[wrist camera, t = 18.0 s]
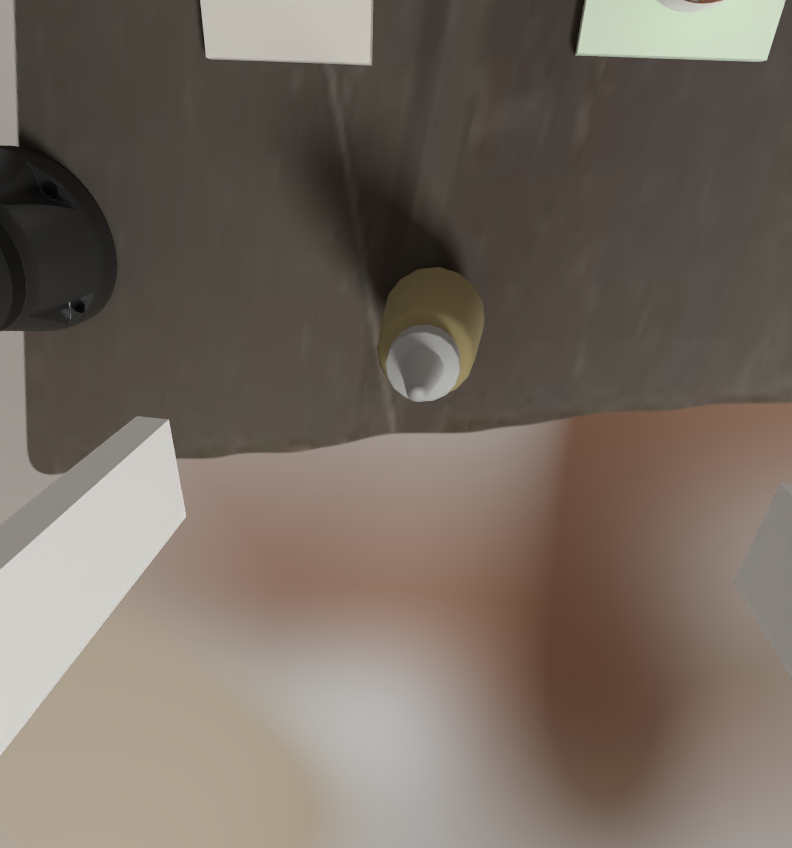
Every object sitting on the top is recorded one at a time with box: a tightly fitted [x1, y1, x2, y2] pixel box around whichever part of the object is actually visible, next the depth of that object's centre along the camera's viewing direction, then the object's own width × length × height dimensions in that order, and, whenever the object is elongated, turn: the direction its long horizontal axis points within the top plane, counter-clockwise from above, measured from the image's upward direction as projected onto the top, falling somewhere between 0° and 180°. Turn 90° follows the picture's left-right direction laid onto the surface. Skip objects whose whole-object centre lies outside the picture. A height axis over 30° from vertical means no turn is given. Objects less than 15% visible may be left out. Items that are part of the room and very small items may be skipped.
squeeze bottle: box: [377, 267, 484, 402], centre depth 37 cm, size 8×8×18 cm
